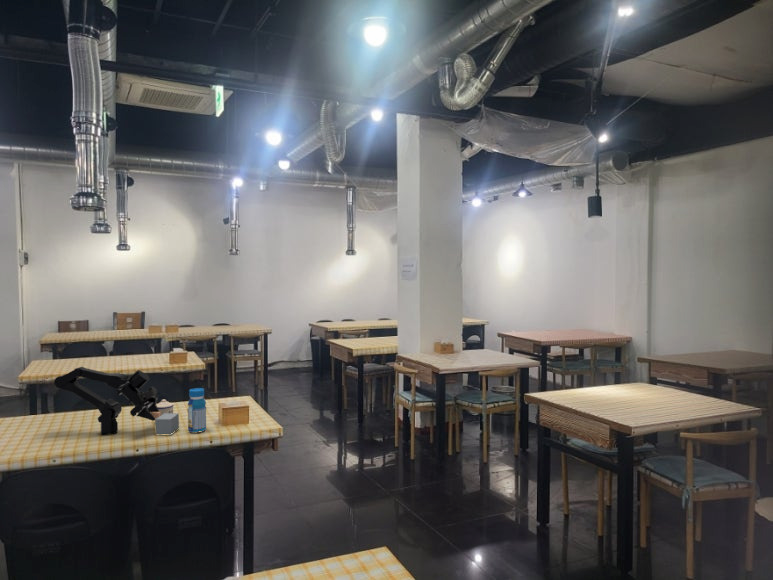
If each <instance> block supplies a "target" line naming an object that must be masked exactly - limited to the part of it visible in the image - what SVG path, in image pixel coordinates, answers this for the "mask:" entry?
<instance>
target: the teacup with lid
mask: <svg viewBox="0 0 773 580" xmlns="http://www.w3.org/2000/svg"><path fill="white" fill-rule="evenodd" d="M156 406H157V408H158V410H159V412H161V415H163V414H164V413H174V403H173V402H169V401H167V400H166V399H161V401H160V402H158V403H156ZM156 419H157V418H155V420H154V424H155V425H156Z"/></svg>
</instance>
